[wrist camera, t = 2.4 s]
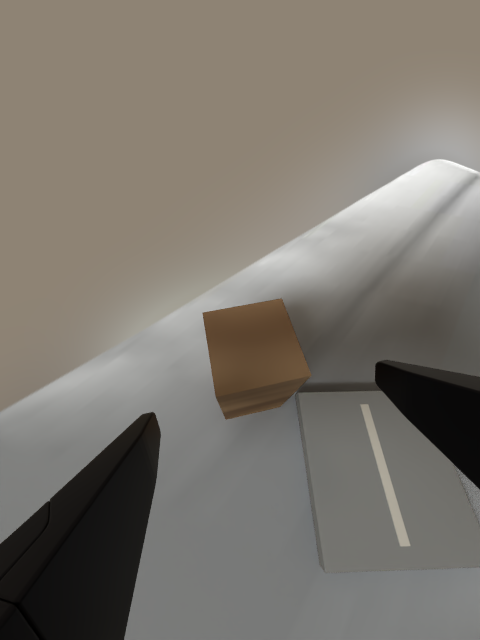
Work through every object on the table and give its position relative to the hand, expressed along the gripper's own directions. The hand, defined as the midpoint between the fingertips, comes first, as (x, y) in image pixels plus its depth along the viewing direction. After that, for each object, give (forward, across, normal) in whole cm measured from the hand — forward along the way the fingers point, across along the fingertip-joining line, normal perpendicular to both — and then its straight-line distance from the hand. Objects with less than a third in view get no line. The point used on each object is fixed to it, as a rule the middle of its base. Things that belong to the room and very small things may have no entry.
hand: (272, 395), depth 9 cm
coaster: (+4, -8, +10) cm, 14 cm away
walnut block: (+9, 0, +5) cm, 11 cm away
